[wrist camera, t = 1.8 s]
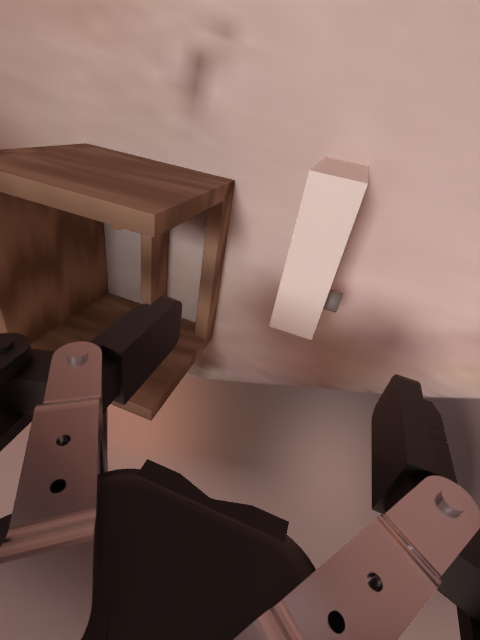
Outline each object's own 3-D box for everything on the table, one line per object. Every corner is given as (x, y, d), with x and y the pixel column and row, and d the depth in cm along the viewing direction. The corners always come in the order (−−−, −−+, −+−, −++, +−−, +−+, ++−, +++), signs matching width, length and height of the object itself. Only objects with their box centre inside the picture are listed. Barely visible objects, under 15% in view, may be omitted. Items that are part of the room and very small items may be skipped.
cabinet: (85, 143, 29) (-60, 154, 19) (234, 180, 26) (154, 214, 16) (99, 299, 38) (5, 360, 28) (211, 337, 35) (151, 420, 25)
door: (326, 156, 23) (309, 170, 17) (383, 169, 23) (388, 188, 16) (291, 280, 29) (268, 326, 22) (336, 293, 28) (326, 345, 22)
